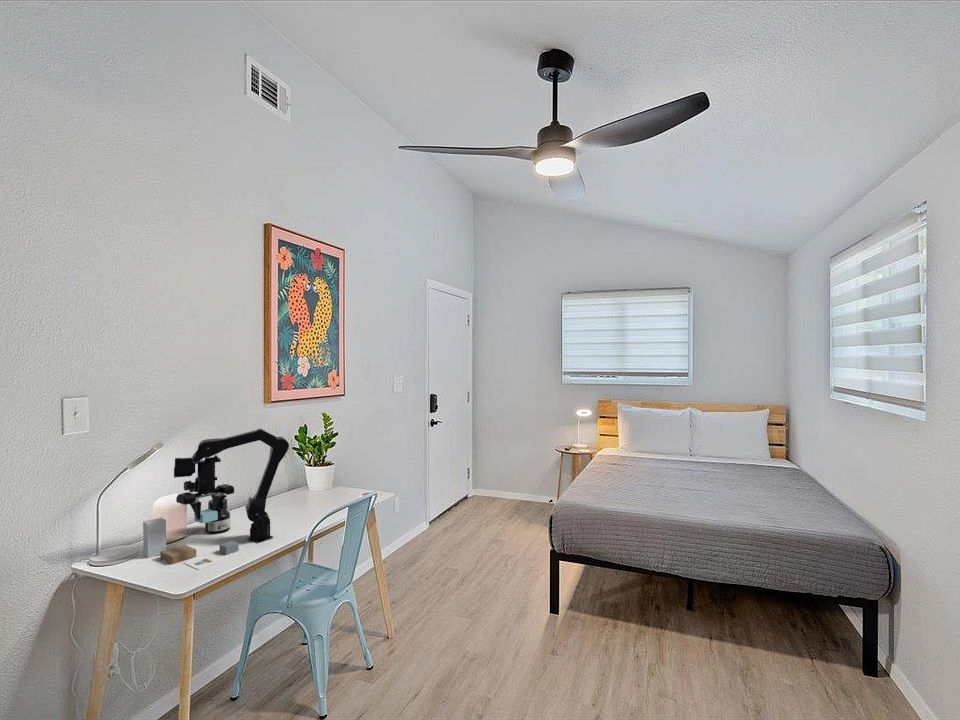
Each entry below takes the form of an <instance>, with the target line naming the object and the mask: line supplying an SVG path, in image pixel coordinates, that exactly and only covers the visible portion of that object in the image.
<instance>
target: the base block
mask: <svg viewBox="0 0 960 720" xmlns="http://www.w3.org/2000/svg"><path fill="white" fill-rule="evenodd" d="M159 556H160V557H159V559H160V560H161V561H163V562H165V563H169V564H170V565H175V564H179V563H181V562H186V561H188V560H190V559H194V558H197V549H196V548H195V547H192V546H190V545H186V544H182V545H179V546H174V547H172V548H168V549H167V548H166V550H164V551H161V552H160V555H159Z"/></svg>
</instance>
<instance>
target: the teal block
mask: <svg viewBox="0 0 960 720" xmlns="http://www.w3.org/2000/svg"><path fill="white" fill-rule="evenodd" d="M214 520H218V511H215V510H212V509H208V508H207V509H203V510H201V513H200V519H199V520H198V519H197V518H196V516H195V515H194V521H195V522H197V523H199V524H202V525H203V524H205V523H207V522H211V521H214Z"/></svg>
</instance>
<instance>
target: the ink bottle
mask: <svg viewBox="0 0 960 720" xmlns="http://www.w3.org/2000/svg"><path fill="white" fill-rule="evenodd" d="M207 502H208V503H207V505H208V506H207V507H208V508H207V509H212V506H213V500H212V499H210V500H208V501H207ZM204 526H205V527H204V530H205V531H204V532H205V533H206V534H209V535H216V534H221V533H225V532H227V531H229V530H230V529H231V512H230V511H228V499H227V498H226V497H225V498H224V500H223V501H222V503H221V505H220V506H219V509H218V520H214V521H211V522H207V523H204Z"/></svg>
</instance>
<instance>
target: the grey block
mask: <svg viewBox="0 0 960 720" xmlns="http://www.w3.org/2000/svg"><path fill="white" fill-rule="evenodd" d="M239 545H240V544H239V543H238V542H236V541H233V540H230V541H227V542H223V543H220V544H219V553H220V554H223V555H224V556H229V555H231V553H232V554H234V553H237V551H238V552H239V548H240V547H239Z"/></svg>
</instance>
